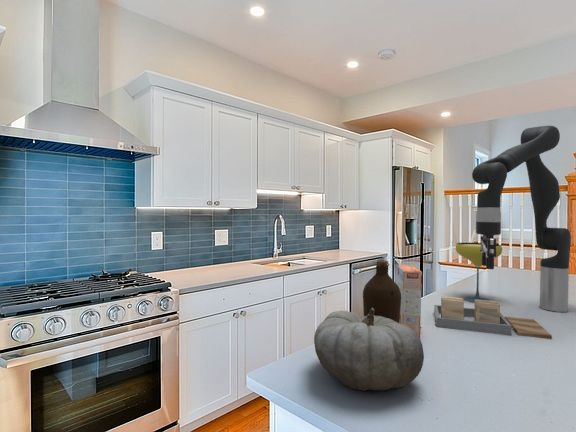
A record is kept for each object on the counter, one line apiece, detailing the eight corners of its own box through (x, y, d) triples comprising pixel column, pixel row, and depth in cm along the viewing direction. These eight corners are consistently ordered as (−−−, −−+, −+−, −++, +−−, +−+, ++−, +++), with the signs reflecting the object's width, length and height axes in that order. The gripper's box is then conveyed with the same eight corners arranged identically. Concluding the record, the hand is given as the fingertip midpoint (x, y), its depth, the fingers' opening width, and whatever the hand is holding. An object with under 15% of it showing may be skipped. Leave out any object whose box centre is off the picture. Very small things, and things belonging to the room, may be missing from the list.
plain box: (440, 318, 128) (441, 296, 128) (461, 320, 126) (462, 298, 126) (441, 321, 123) (442, 299, 123) (463, 324, 121) (463, 301, 121)
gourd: (345, 408, 64) (346, 311, 67) (293, 372, 86) (296, 301, 90) (448, 397, 73) (445, 312, 76) (376, 368, 95) (376, 303, 99)
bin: (434, 312, 135) (434, 304, 135) (499, 319, 127) (499, 311, 127) (436, 326, 118) (436, 317, 118) (511, 335, 110) (511, 326, 110)
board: (504, 318, 127) (504, 316, 127) (533, 321, 124) (533, 319, 124) (517, 335, 111) (518, 332, 111) (551, 339, 107) (551, 335, 107)
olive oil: (406, 347, 100) (407, 260, 99) (390, 358, 92) (392, 264, 91) (372, 338, 107) (373, 257, 106) (355, 348, 99) (356, 260, 98)
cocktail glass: (449, 300, 153) (450, 244, 153) (460, 293, 167) (461, 241, 167) (496, 308, 142) (497, 247, 141) (504, 300, 155) (505, 244, 155)
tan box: (474, 321, 124) (474, 299, 124) (496, 323, 122) (496, 301, 122) (476, 326, 119) (476, 303, 119) (499, 328, 117) (500, 305, 117)
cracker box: (421, 339, 106) (422, 271, 106) (401, 337, 107) (402, 270, 107) (414, 324, 120) (415, 264, 120) (396, 323, 121) (397, 263, 121)
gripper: (505, 221, 112) (504, 271, 112) (496, 220, 126) (495, 265, 126) (479, 221, 115) (478, 269, 115) (473, 220, 128) (472, 263, 128)
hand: (487, 267), depth 120 cm, fingers open, 8 cm apart
